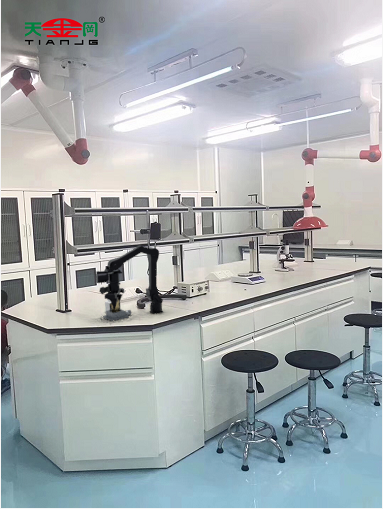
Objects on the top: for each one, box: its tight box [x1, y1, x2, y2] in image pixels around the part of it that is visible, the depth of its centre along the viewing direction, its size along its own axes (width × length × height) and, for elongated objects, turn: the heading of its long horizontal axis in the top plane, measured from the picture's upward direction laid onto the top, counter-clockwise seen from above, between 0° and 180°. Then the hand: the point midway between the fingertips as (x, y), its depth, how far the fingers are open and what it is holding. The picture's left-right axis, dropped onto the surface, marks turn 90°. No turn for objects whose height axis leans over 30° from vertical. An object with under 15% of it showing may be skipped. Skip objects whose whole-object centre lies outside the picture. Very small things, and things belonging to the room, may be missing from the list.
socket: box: [102, 308, 132, 322], centre depth 240 cm, size 15×11×4 cm
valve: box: [112, 300, 120, 312], centre depth 238 cm, size 4×4×8 cm
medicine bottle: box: [104, 299, 121, 313], centre depth 252 cm, size 7×7×12 cm
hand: (115, 307), depth 238 cm, fingers closed on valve, 4 cm apart
